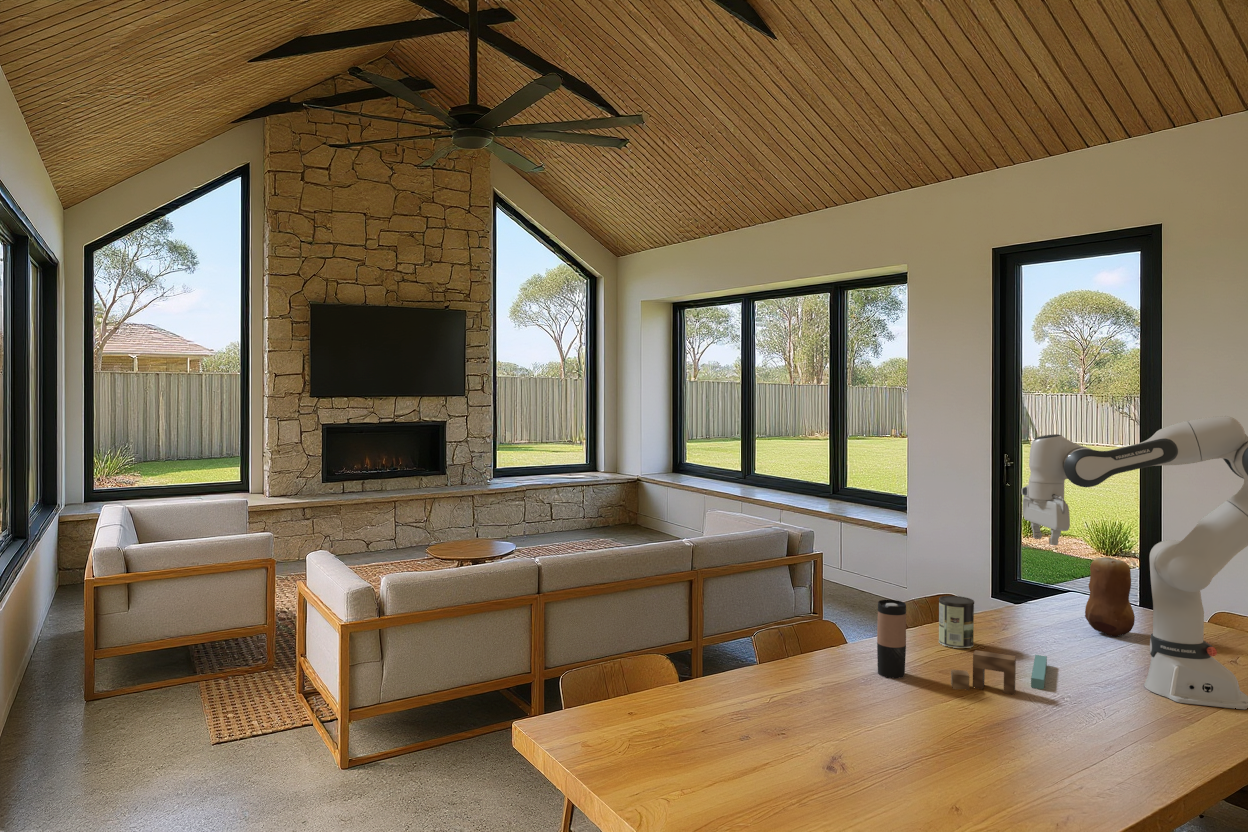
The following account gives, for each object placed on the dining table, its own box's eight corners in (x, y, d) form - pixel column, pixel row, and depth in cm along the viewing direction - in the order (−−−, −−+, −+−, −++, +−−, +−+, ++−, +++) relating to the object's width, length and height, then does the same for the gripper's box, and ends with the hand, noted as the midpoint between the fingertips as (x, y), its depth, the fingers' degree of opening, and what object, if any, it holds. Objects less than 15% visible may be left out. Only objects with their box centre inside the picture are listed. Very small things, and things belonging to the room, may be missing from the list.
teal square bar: (1046, 666, 233) (1046, 656, 233) (1043, 691, 214) (1043, 679, 214) (1035, 664, 235) (1035, 654, 234) (1030, 689, 215) (1031, 677, 215)
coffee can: (965, 639, 258) (966, 595, 257) (979, 649, 247) (980, 603, 247) (933, 639, 258) (933, 595, 257) (945, 649, 248) (946, 603, 247)
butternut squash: (1134, 632, 265) (1135, 557, 264) (1134, 643, 254) (1135, 564, 253) (1085, 626, 273) (1086, 552, 272) (1083, 636, 261) (1085, 559, 260)
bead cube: (966, 685, 217) (967, 670, 217) (969, 690, 213) (969, 675, 213) (950, 684, 218) (951, 669, 218) (953, 689, 214) (953, 674, 214)
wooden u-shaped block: (1015, 689, 214) (1015, 656, 213) (1014, 694, 210) (1014, 660, 210) (974, 683, 219) (974, 650, 218) (972, 687, 215) (973, 654, 215)
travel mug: (901, 669, 229) (902, 599, 228) (908, 679, 221) (909, 607, 221) (874, 668, 230) (875, 599, 229) (880, 678, 222) (880, 606, 221)
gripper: (1077, 497, 215) (1075, 549, 216) (1040, 488, 236) (1039, 535, 236) (1052, 497, 215) (1051, 548, 216) (1018, 488, 236) (1017, 535, 236)
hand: (1045, 541), depth 226 cm, fingers open, 8 cm apart
